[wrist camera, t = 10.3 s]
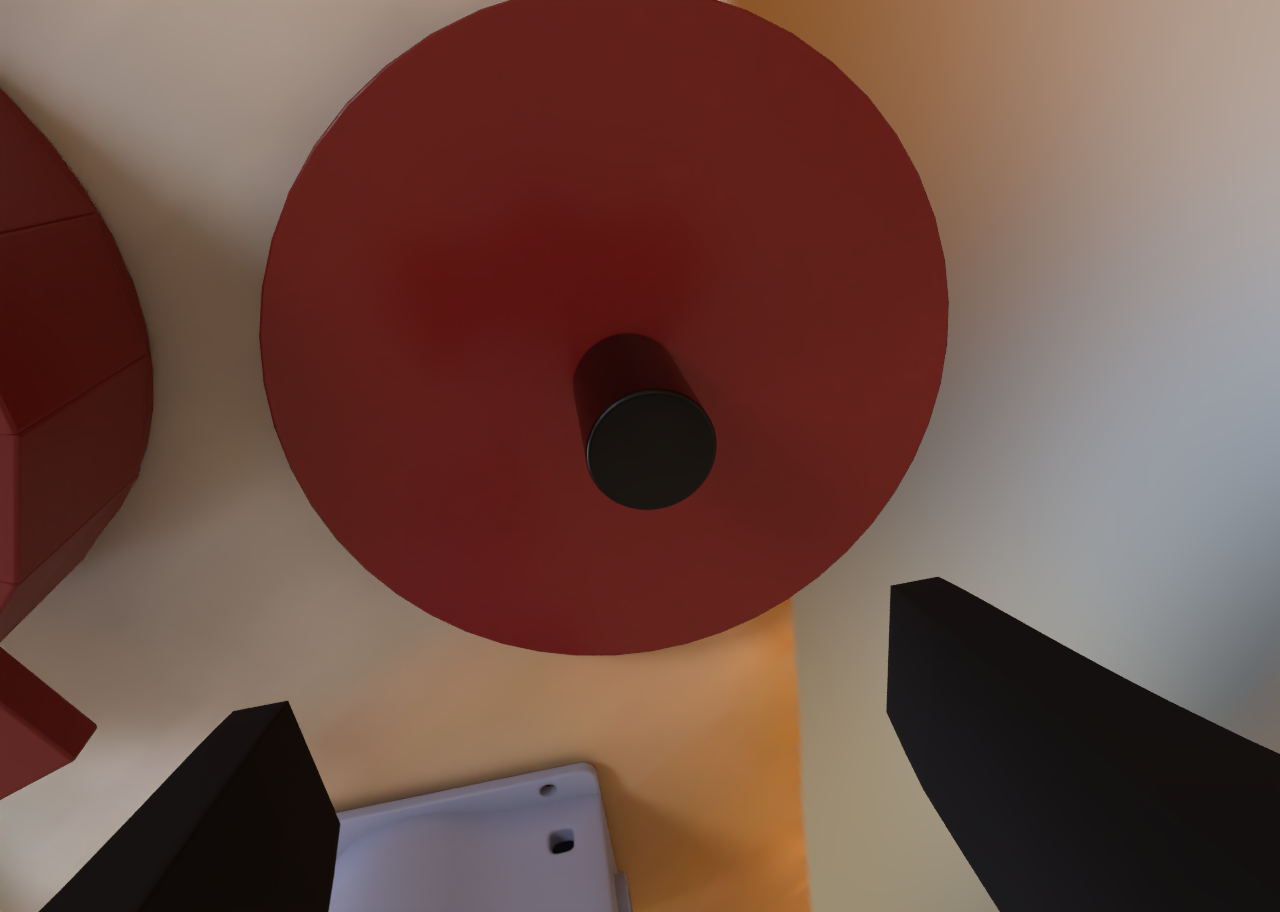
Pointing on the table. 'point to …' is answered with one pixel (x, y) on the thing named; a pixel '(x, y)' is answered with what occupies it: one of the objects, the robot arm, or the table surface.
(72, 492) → the pot
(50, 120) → the table surface
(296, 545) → the table surface
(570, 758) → the table surface
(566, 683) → the table surface
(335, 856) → the robot arm
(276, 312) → the lid
